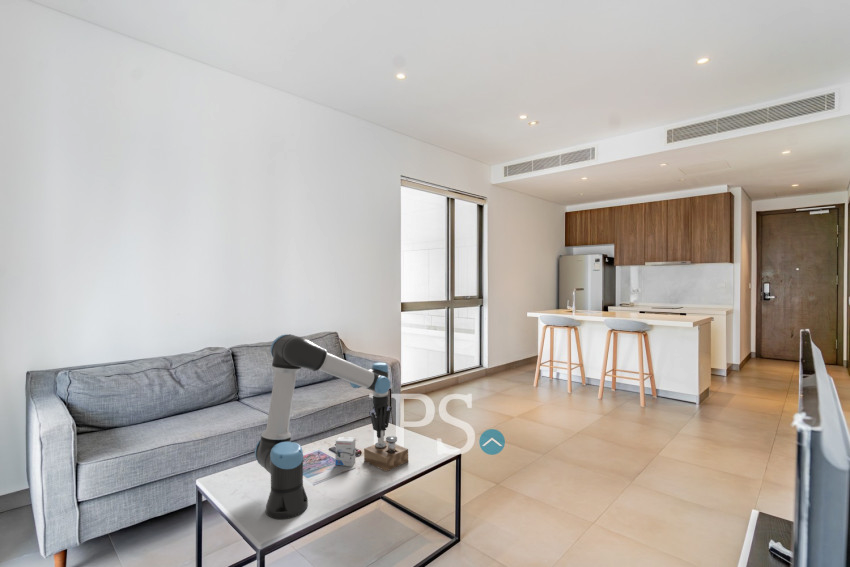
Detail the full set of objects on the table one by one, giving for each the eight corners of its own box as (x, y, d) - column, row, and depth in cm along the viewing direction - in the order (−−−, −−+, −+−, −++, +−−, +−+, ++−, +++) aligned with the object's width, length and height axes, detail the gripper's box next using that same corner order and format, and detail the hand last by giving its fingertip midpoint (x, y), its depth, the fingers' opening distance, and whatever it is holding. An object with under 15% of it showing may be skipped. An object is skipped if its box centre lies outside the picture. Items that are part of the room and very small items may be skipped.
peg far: (380, 461, 199) (380, 447, 199) (373, 458, 203) (373, 444, 203) (388, 458, 203) (388, 443, 203) (381, 455, 206) (381, 441, 206)
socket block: (386, 471, 189) (385, 458, 189) (364, 460, 200) (364, 448, 200) (408, 461, 199) (408, 449, 199) (386, 452, 211) (386, 440, 210)
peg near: (391, 455, 193) (391, 441, 193) (383, 452, 197) (383, 438, 197) (399, 452, 197) (399, 438, 197) (392, 449, 201) (392, 435, 201)
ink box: (334, 465, 195) (334, 440, 195) (338, 461, 200) (338, 436, 200) (352, 466, 195) (352, 441, 194) (355, 461, 200) (355, 437, 200)
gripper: (374, 399, 195) (375, 449, 195) (395, 393, 205) (396, 441, 205) (364, 396, 200) (365, 445, 201) (385, 391, 210) (386, 437, 210)
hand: (380, 443), depth 203 cm, fingers closed
